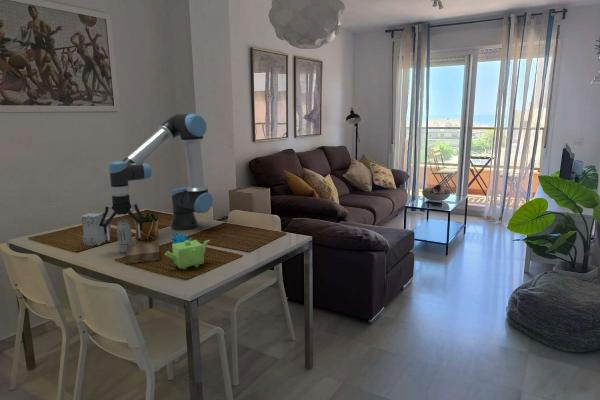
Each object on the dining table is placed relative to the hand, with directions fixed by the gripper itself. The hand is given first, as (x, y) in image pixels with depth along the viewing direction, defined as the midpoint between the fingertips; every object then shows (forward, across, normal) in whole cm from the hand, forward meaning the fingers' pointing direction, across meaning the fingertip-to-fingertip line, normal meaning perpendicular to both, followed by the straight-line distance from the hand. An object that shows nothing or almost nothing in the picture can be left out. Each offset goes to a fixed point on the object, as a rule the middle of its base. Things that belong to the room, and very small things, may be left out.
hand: (124, 238), depth 195 cm
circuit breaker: (+7, +14, -23) cm, 28 cm away
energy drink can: (+7, 0, 0) cm, 7 cm away
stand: (+6, -8, +12) cm, 16 cm away
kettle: (+7, -27, +31) cm, 42 cm away
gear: (+7, -26, +5) cm, 27 cm away
